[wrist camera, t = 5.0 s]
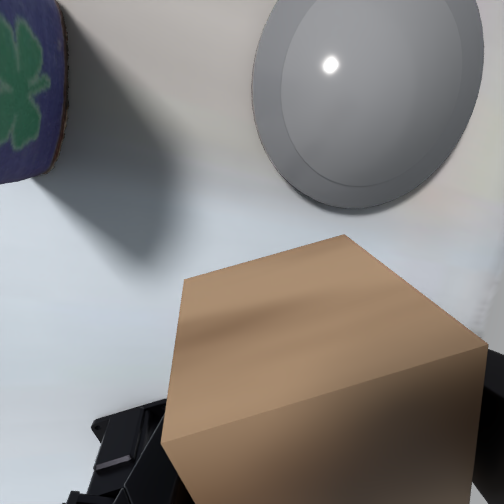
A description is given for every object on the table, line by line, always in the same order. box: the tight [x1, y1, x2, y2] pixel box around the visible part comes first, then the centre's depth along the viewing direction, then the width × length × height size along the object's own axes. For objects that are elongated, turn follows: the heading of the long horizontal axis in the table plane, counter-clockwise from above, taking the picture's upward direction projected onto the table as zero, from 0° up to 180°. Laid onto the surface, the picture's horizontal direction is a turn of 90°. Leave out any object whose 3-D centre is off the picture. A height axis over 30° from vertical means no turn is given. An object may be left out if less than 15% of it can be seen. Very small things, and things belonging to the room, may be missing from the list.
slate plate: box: [251, 0, 484, 209], centre depth 18 cm, size 14×14×1 cm
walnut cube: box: [161, 234, 488, 504], centre depth 8 cm, size 5×5×5 cm
